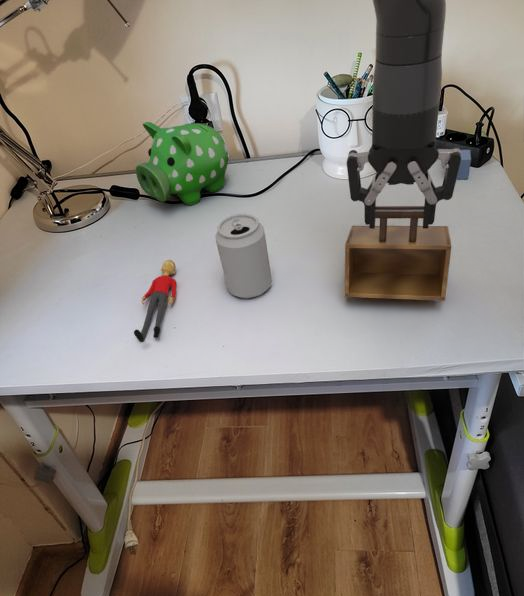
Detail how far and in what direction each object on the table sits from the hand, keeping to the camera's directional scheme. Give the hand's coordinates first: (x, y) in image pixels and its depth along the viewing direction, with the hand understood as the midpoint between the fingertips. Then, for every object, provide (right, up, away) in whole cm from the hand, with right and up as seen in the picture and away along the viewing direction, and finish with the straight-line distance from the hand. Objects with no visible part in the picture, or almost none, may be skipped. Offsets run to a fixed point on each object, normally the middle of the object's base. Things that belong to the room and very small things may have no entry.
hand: (398, 225), depth 70 cm
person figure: (-35, -10, +14) cm, 39 cm away
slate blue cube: (+19, +17, +29) cm, 38 cm away
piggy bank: (-34, +16, +38) cm, 53 cm away
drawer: (+1, -8, +6) cm, 10 cm away
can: (-21, -7, +13) cm, 26 cm away
